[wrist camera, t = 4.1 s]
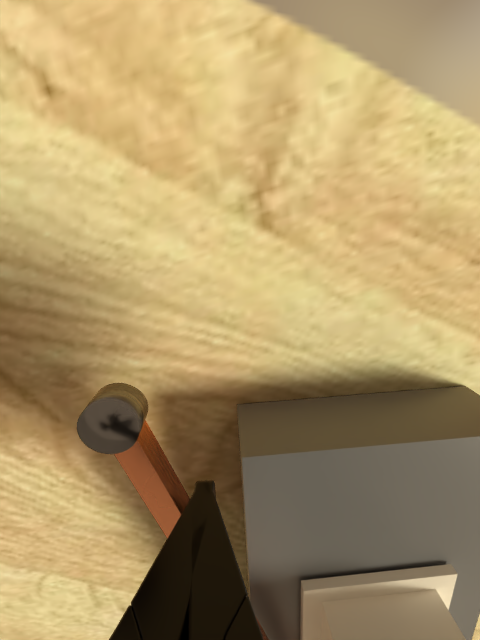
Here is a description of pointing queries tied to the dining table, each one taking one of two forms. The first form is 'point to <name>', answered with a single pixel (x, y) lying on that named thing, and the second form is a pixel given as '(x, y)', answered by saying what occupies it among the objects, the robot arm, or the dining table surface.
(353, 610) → the plug
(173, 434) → the dining table surface
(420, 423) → the grey socket base
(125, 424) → the copper link
